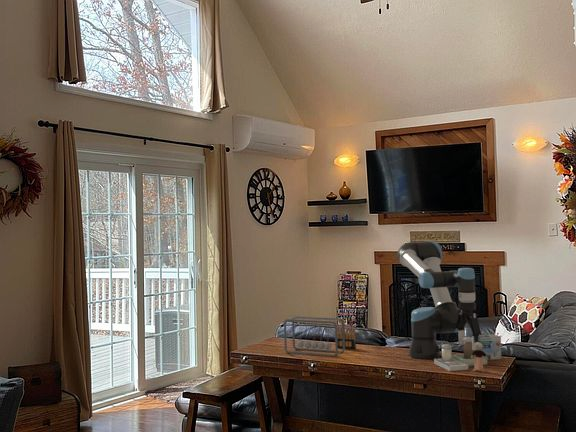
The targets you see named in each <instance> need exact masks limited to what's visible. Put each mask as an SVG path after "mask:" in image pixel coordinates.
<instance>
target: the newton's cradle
mask: <svg viewBox="0 0 576 432" xmlns="http://www.w3.org/2000/svg"><path fill="white" fill-rule="evenodd" d="M287 322H291V329H292V331H291V332H292V347H293V349H292V350H288V349H287V346H288V345H287V343H288V341H287ZM296 322H297V323H298V324H300V323H304V325H305V326H304V327H307V325H306V324H307V323H311V324H314V325H315V327H314V328H316V323H317V324H325V326H327V324H330V325H332V324H333V325H334V341H335V343H334V344H335V348H334V349H335V350H334V349H333V350H331V349H332V347H333V346H332V343H330V342H329V340H330V339H329V337H330V335H329V333H330V331H328V333H327V330H325V333H326V335H327V340H326V342H325V343H324V342H323V341H322V340H323V339H322V337H323V335H320V337H319V339H320V341H319V342H317V341H316V340H313V341H309V340H306V341H305V342H304V340H302V339H299V340H298V341H297V343H296V341H295V340H296V337H295V336H296V335H295V332H296V331H295V323H296ZM337 322H341V327H342V337H343V348H342V350H339V348H338V341H337V326H338V325H337ZM311 327H312V330H314V329H313V326H311ZM344 327H345V321H344V320H343V319H342V318H337V317H335V318H334V317H333V318H331V317H315V316H314V317H313V316H293V318H286V319H285V320H284V322H283V336H284V337H283V339H284V341H283V343H284V346H283V347H284V352H285V353H286V354H291V353H292V354H293V355H294V354H295V355H304V354H305V355H306V356H307V355H308V356H320V357H328V358H329V357H330V358H331V357H333V358H335V357H337V356H338V354H344V352H346V351H345V350H346V349H345V334H346V329H345V330H344ZM309 329H310V328H309V327H308V332H307V331H305V334H306V336H308V335H309V334H310V333H309ZM302 330H303V329H301V332H300V330H298V332H299V335H303V334H302ZM318 331H319V333H321V332H320V328H318ZM300 333H301V334H300ZM312 337H313V339H315V334H312ZM305 350H307V352H304V351H305ZM308 351H309V352H308ZM318 352H319V353H318ZM320 352H321V353H320ZM322 352H323V353H322ZM329 353H330V354H329ZM331 353H333V354H331Z"/></svg>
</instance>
